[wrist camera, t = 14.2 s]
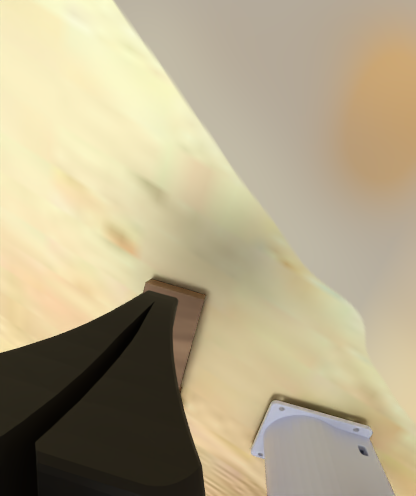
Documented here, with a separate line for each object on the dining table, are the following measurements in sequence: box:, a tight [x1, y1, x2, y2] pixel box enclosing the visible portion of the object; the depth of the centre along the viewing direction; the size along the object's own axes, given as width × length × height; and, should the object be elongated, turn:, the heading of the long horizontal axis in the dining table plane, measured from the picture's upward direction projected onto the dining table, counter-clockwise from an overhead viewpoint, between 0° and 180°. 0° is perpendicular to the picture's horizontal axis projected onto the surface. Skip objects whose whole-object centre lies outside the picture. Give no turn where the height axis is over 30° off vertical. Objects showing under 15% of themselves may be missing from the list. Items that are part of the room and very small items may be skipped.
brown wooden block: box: [143, 279, 206, 387], centre depth 21 cm, size 2×5×8 cm
